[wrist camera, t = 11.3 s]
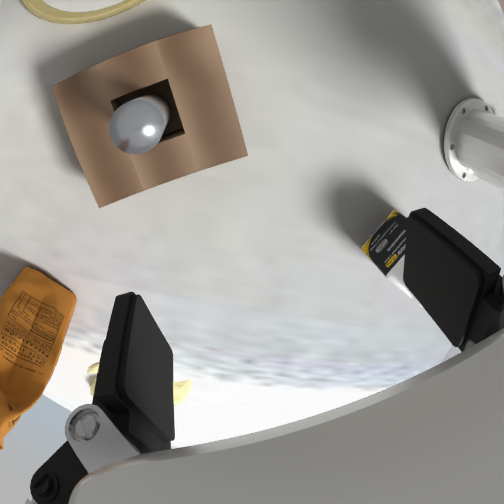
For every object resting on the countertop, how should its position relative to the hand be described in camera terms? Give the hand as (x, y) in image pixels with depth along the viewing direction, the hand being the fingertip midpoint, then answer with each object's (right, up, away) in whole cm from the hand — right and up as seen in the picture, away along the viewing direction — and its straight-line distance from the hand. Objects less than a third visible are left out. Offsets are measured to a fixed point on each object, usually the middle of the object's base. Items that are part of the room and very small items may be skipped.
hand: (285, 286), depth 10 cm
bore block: (-11, +15, +17) cm, 25 cm away
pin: (-10, +14, +16) cm, 24 cm away
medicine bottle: (+18, +3, +31) cm, 36 cm away
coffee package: (-30, -6, +25) cm, 39 cm away
